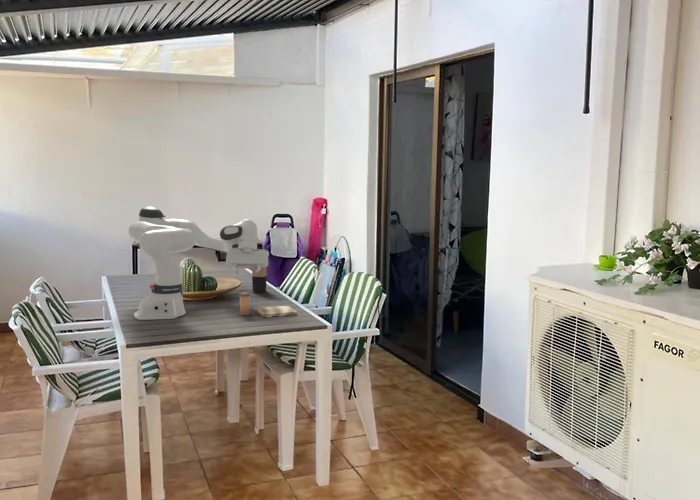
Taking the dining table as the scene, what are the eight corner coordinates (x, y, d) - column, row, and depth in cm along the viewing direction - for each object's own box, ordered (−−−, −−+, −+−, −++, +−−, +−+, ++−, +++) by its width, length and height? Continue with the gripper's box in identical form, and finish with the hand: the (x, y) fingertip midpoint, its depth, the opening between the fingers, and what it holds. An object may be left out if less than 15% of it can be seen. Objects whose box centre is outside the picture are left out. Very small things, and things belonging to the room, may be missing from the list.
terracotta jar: (241, 316, 295) (241, 294, 293) (238, 313, 299) (238, 292, 298) (252, 315, 297) (251, 293, 295) (249, 312, 301) (249, 291, 300)
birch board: (263, 317, 293) (263, 314, 293) (255, 311, 305) (255, 308, 304) (296, 314, 299) (296, 311, 299) (288, 308, 311) (288, 305, 311)
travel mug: (249, 292, 347) (249, 254, 344) (257, 289, 354) (257, 253, 351) (261, 293, 344) (261, 256, 341) (269, 291, 350) (269, 254, 347)
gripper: (269, 253, 322) (268, 277, 314) (227, 252, 320) (225, 276, 312) (269, 246, 317) (268, 270, 309) (226, 245, 314) (224, 269, 307)
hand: (246, 273), depth 311 cm, fingers open, 8 cm apart
